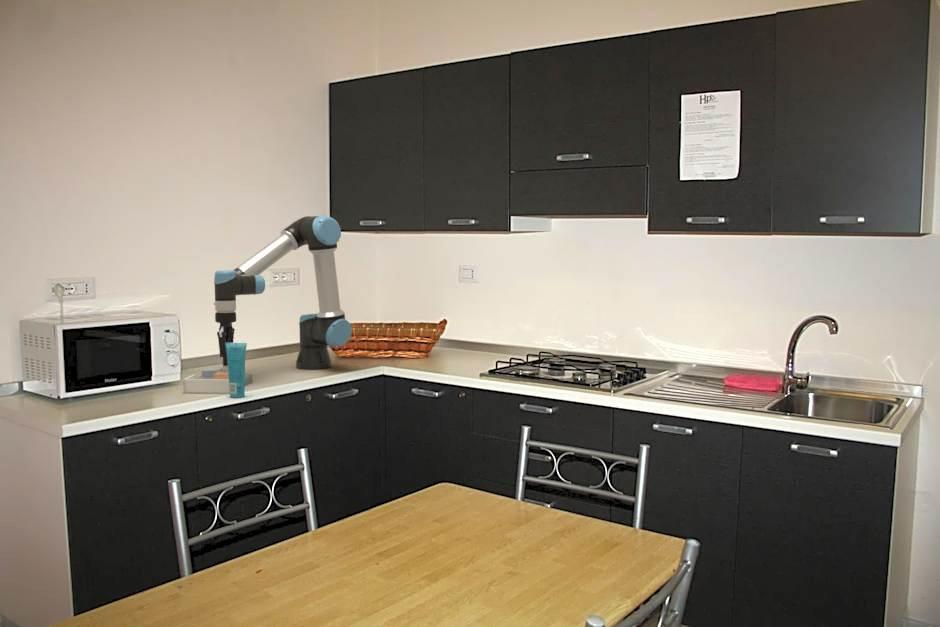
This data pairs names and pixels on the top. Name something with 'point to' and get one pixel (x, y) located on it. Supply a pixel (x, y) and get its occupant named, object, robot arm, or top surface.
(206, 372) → the tile
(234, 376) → the tube
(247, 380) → the board
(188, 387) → the tray
